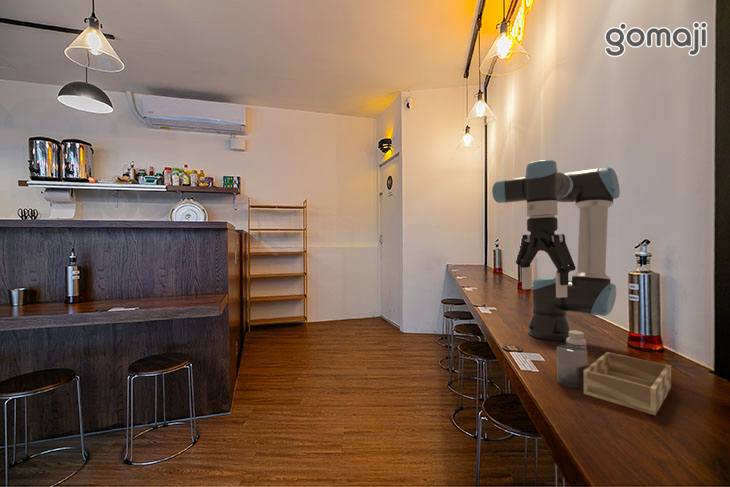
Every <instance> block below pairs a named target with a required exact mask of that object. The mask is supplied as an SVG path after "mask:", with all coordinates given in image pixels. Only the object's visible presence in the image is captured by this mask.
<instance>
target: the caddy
mask: <svg viewBox="0 0 730 487" xmlns="http://www.w3.org/2000/svg"><path fill="white" fill-rule="evenodd" d="M671 389H672V365H670V364H665V363H661V362H656V361H652V360H648V359H647V360H646V359H642V358H637V357H633V356H628V355H623V354H618V353H615V352H609V351H607V352H605V353H604V354H602V355H601V356H600V357H598V358H597V359H596V360H595V361H594V362H593V363H591V364H589V366H587V368H586V369H585V370H584V388H583V394H584V395H587V396H591V397H594V398H596V399H600V400H603V401H607V402H610V403H613V404H616V405H620V406H623V407H627V408H628V409H629V408H630V409H633V410H636V411H639V412H642V413H647V414H649V415H651V416H652V415H653V416H656V415H657V413H658V412H659V410H660V409H661V407H662V405H663V403H664V401H665V399H666V398H667V396H668V394H669V393H670V390H671Z"/></svg>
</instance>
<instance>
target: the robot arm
mask: <svg viewBox="0 0 730 487" xmlns="http://www.w3.org/2000/svg"><path fill="white" fill-rule="evenodd" d="M620 189H621V188H620V184H619V180H618V176H617V173H616V171H615V169H614V168H612V167H609V166H608V167H596V168H591V169H585V170H577V171H570V172H565V173H563V172H558V168H557V162H556V161H555V160H553V159H542V160H536V161H535V160H534V161H531V162H529V163H528V164H527V165H526V170H525V176H523V177H516V178H515V177H514V178H507V179H501V180H497V181H495V182H494V183H493V186H492V190H491V191H492V192H491V193H492V198H493V199H494V201H495V202H496V203H498V204H500V203H501V204H504V203H505V204H506V203H513V202H514V203H515V202H525V201H526V216H527V217H528V218H527V219H526V230H527V232H530V234H522V239H521V245H520V248H519V251H518V254H517V257H516V260H515V264H516V265H519V267H520V268H521V269H520V272H521V274H520V275H521V287H522V288H521V289H522V290H531V291H532V294H531V295H532V315H531V319H530V321H529V324H528V327H527V329H528V330H527V331H528V332H527V333H528V335H530V336H532V337H534V338H537V339H542V340H547V341H555V342H556V341H559V342H560V341H561V342H562V341H566V339H567V338H568V337H570V336H569V335H568V334H569V331H571V330H572V328H571V325H570V323H569V320H568V317H567V312H569V313H576V314H584V315H590V316H599V317H605V316H609V315H610V314H611V312H612V311H613V308H614V306H615V303H616V297H617V286H616V284H615V283H614V284H613V283H611V278H610V276H608V275H607V273H606V271H607V270H606V265H607V264H606V263H607V242H608V239H607V237H608V216H609V215H608V214H609V213H608V210H609V208H610V207H611V206H613V204H614V200H616V199H618V198H619V197H620V192H621V190H620ZM558 202H559V203H574V202H575V204H574V205H575V207H577V208H578V209H579V219H578V220H579V222H578V223H579V224H578V240H577V241H578V242H577V243H578V246H577V268H576V265H575V263H574V260H573V257H572V255H571V252H570V251H569V247H568V245H567V242H566V235H565V234H564V233H558V234H555V232H556V231H558V227H559V226H558V218H557V217H556V216H558V212H559V211H558ZM540 251H542V252H545V253H546V254H547V255H548V257H549V258H550V259H551V262H552V263H553V265H554V267H555V268H556V272H555V275H554V276H553V275H552V276H543V277H542V276H541V277H536V278H534V279H533V280H532V278H533V277H532V274H533V273H532V269H533V268H532V262H533V260H534V259H535V257H536V255H537V254H538V252H540ZM575 270H577V271H576V272H575V273H574V274H572V276H571V280H569V273H570V272H573V271H575Z"/></svg>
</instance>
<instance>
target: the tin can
mask: <svg viewBox="0 0 730 487" xmlns="http://www.w3.org/2000/svg"><path fill="white" fill-rule="evenodd" d="M587 367H588V350H585V349H583V348H580V347H577V346H571V345H566V344H562V345H561V344H560V345H558V346H556V382H558V384H560V385H562V386H563V387H564V386H565V387H567V388H571V389H584V370H585V369H586V368H587Z"/></svg>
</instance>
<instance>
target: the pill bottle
mask: <svg viewBox="0 0 730 487" xmlns="http://www.w3.org/2000/svg"><path fill="white" fill-rule="evenodd" d="M568 335H569V336H570V337H568V338H567V339H566V340H565V345H571V346H577V347H580V348H583V349H585V350H587V348H588V347H587V345H588V344H587V340H586V339H585V338H584V337H585V333H584V332H583V331H581V330H575V329H574V330H572V329H571V331H569V334H568ZM587 351H588V350H587Z"/></svg>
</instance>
